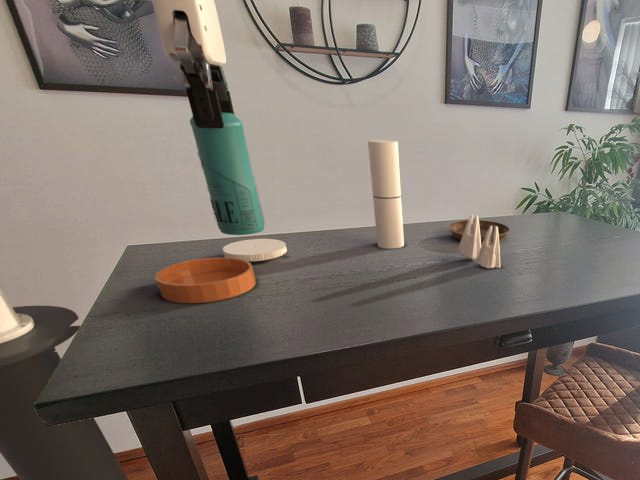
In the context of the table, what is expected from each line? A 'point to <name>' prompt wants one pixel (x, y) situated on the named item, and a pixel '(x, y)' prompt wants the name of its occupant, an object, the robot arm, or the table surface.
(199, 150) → the beverage bottle
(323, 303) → the table surface
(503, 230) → the plant saucer
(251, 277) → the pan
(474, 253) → the shaker set
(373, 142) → the cylindrical container
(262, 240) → the plastic lid
